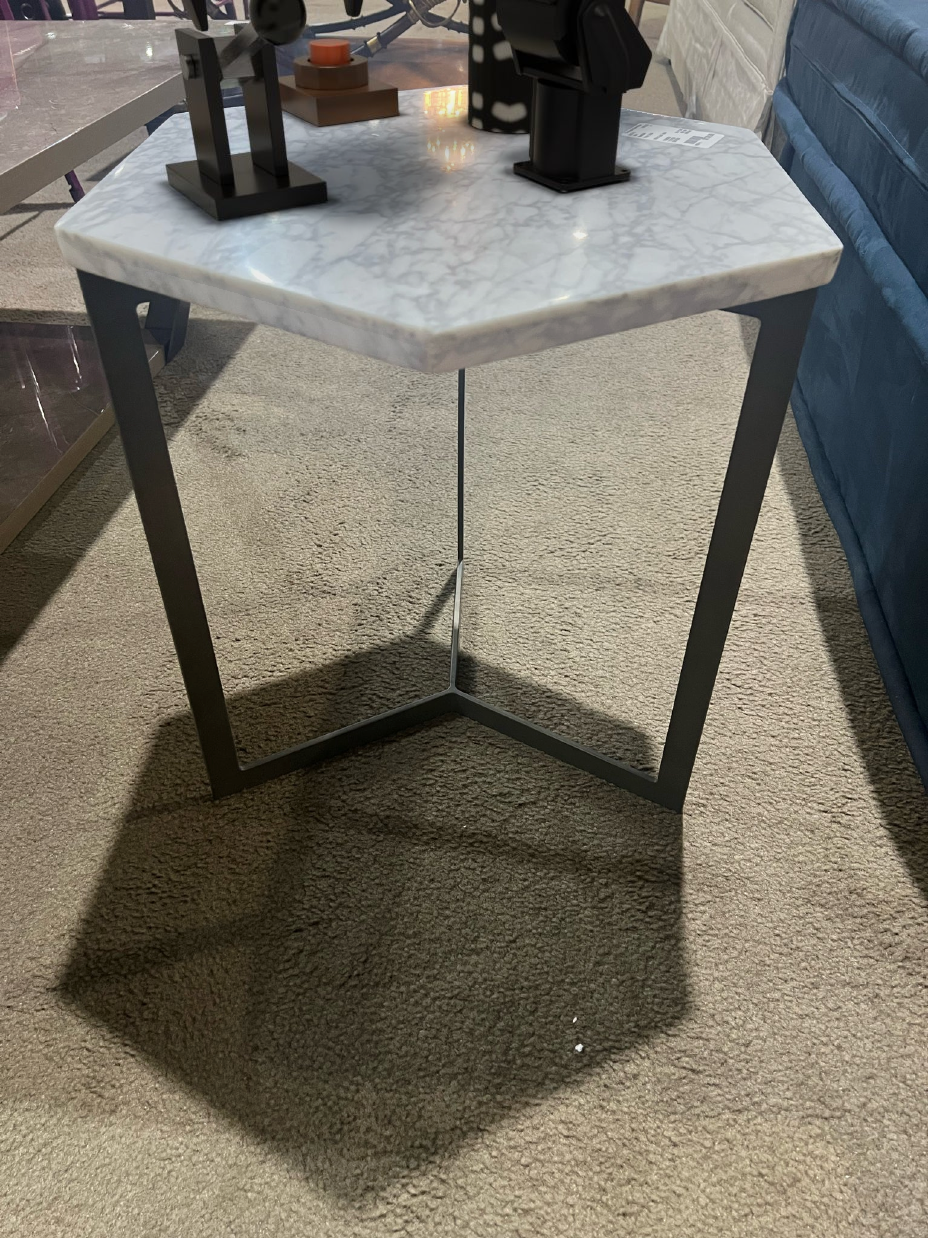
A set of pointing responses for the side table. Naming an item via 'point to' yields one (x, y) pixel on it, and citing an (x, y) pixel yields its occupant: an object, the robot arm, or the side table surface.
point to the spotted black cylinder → (494, 75)
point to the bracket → (217, 173)
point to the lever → (258, 38)
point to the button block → (336, 92)
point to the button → (329, 51)
